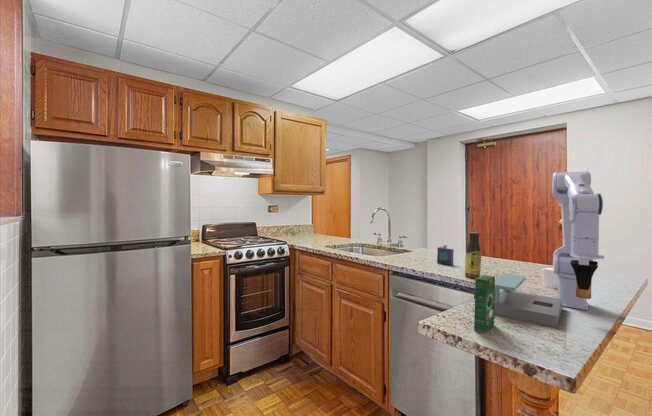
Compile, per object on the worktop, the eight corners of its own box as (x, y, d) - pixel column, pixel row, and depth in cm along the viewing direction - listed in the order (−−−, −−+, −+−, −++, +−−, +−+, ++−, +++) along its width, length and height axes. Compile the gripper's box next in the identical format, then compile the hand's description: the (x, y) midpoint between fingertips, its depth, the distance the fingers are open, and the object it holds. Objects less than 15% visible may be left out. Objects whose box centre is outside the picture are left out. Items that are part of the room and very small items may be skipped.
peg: (575, 294, 86) (576, 266, 86) (591, 297, 84) (591, 267, 84) (575, 297, 83) (576, 267, 83) (591, 299, 81) (591, 269, 81)
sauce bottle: (471, 279, 132) (472, 233, 132) (461, 275, 139) (462, 231, 138) (484, 278, 134) (485, 232, 134) (473, 275, 140) (474, 231, 140)
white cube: (539, 286, 122) (540, 268, 122) (542, 283, 127) (543, 266, 127) (561, 289, 117) (561, 271, 117) (563, 286, 122) (564, 269, 122)
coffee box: (483, 322, 82) (484, 273, 82) (495, 325, 80) (495, 274, 80) (473, 330, 77) (474, 277, 76) (485, 334, 75) (486, 280, 75)
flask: (454, 265, 163) (454, 245, 163) (451, 266, 161) (451, 245, 161) (438, 262, 171) (438, 243, 171) (435, 263, 169) (435, 244, 169)
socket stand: (503, 298, 105) (503, 273, 105) (562, 308, 94) (562, 281, 94) (488, 312, 90) (489, 283, 90) (556, 327, 79) (557, 294, 79)
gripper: (605, 241, 75) (604, 296, 75) (603, 237, 86) (602, 285, 86) (568, 239, 80) (567, 291, 80) (571, 235, 91) (570, 281, 91)
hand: (583, 288), depth 84 cm, fingers closed on peg, 3 cm apart
